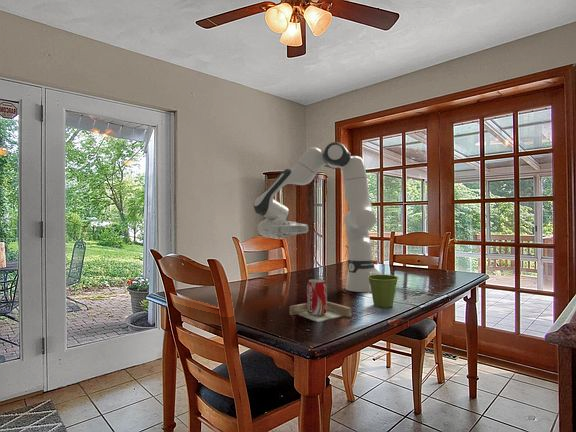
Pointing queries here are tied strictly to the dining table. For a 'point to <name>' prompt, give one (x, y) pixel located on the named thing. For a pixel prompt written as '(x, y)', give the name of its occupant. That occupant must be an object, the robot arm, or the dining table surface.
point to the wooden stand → (331, 313)
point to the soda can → (316, 297)
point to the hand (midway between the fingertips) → (298, 229)
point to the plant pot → (383, 289)
